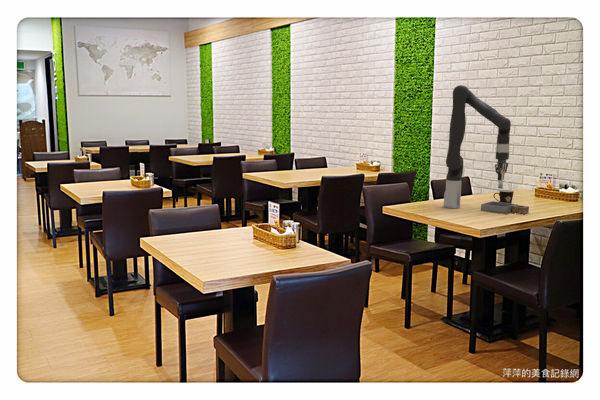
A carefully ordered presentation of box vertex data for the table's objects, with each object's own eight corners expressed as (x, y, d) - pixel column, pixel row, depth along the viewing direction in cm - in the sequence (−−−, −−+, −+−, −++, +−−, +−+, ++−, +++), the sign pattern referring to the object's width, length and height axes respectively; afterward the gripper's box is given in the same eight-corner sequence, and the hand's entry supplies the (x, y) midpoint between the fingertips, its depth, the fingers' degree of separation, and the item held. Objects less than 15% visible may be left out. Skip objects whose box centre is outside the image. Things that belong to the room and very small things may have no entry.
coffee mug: (513, 205, 351) (514, 190, 349) (512, 208, 343) (513, 192, 341) (494, 204, 356) (494, 189, 354) (492, 206, 348) (493, 191, 346)
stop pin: (496, 188, 332) (497, 171, 330) (499, 187, 334) (500, 171, 332) (501, 188, 330) (502, 171, 328) (503, 188, 332) (504, 171, 330)
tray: (480, 210, 335) (481, 204, 334) (492, 207, 345) (492, 201, 344) (506, 214, 324) (506, 207, 323) (517, 210, 334) (517, 204, 333)
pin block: (511, 213, 327) (512, 206, 326) (516, 211, 332) (517, 205, 331) (523, 214, 322) (524, 207, 321) (528, 213, 327) (528, 206, 326)
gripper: (501, 150, 336) (499, 178, 339) (491, 151, 326) (489, 180, 329) (513, 151, 331) (511, 179, 334) (503, 152, 321) (501, 181, 324)
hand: (500, 179), depth 331 cm, fingers closed on stop pin, 3 cm apart
